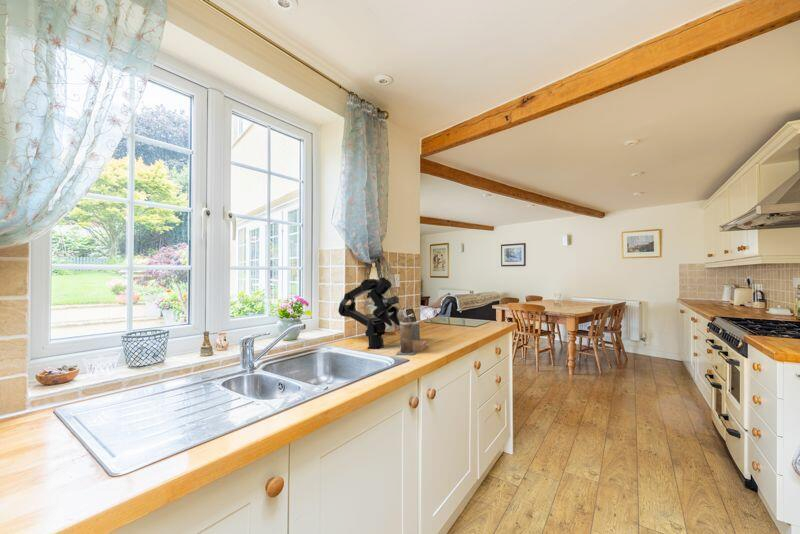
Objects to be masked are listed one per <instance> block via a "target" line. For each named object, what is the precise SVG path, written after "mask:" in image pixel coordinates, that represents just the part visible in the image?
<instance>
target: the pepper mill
mask: <svg viewBox="0 0 800 534" xmlns="http://www.w3.org/2000/svg"><path fill="white" fill-rule="evenodd" d="M412 322H413V321H410V317H409V316H402V317H401V321H399V323H400V325H399V339H400V340H399V342H400V350H401V352H402V353H411V352H413V346H412Z"/></svg>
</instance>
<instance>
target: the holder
mask: <svg viewBox="0 0 800 534" xmlns="http://www.w3.org/2000/svg"><path fill="white" fill-rule="evenodd" d="M412 346H413V350H417V352H423V351H424V350H425V349H426V348H427V347H428V343H427V340H420V341H413V340H412Z"/></svg>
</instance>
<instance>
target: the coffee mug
mask: <svg viewBox="0 0 800 534" xmlns="http://www.w3.org/2000/svg"><path fill="white" fill-rule="evenodd" d="M411 322H412V340H413V341H421V335H420V334H421V333H420V323H419V322H417V321H415V322H414V321H411Z"/></svg>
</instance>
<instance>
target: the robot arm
mask: <svg viewBox="0 0 800 534" xmlns="http://www.w3.org/2000/svg"><path fill="white" fill-rule="evenodd" d="M391 287H392V283H391V281H389V280H388V279H387V278H385V277H382V276H381V277H380V278H379V280H378V281H377V280H376V278H365V279H364V280H362V281H361V282H360V285H358V286H357V287H355V288H354V289H352V290H350V291H348V292H346V293H344V296H343V299H341V301H340V303H339V306H338V310H337V311H338V313H339V315H340V316H341V317H346V318H351V319H352V320H355V322H358V323H360V324H362V325H363V326H365V327H366V330H365V332H364V333H365V336H366V337H368V346H367V349H368V350H370V349H373V350H380V349H382V348H383V347H385V346H384V338H383V335H385V332H386V328H387V327H386V326H387V325H388V326H389V327H392V326H393V323H394V324H395V325H397V326H398V327H400V319H399V317H398V314H399V311H400V309H399V308H398V306H393V305H395V304H399V303H400V302H399V301H400V298H399V297H398V296H396V295H394V296H391V297H388V298H386V297H384V295H385V294H386V293H387V292H388V291H389V290H391ZM366 292H367V294H366V299H371V301H373V303H374V304H373V306H374V307H376V308H375V309H373V311H372V315H373V316H374V317H369V316H367V315H366V314H363V313H362V312H360V311H358V310H357V309H356V305H357V304H356V302H355V300H356V298H357V297H359V296H362V295H363V294H365V293H366ZM349 301H350V303H349V304H347V303H348V302H349ZM392 322H393V323H392Z"/></svg>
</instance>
